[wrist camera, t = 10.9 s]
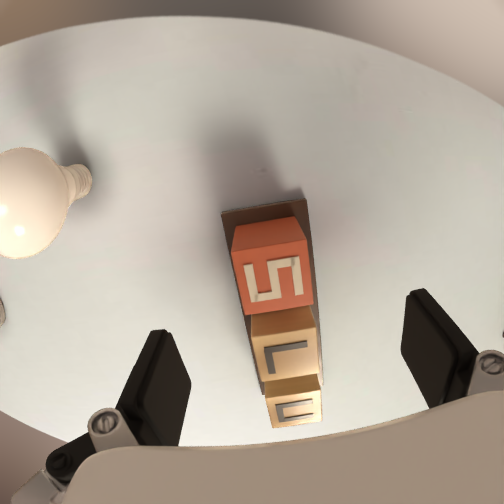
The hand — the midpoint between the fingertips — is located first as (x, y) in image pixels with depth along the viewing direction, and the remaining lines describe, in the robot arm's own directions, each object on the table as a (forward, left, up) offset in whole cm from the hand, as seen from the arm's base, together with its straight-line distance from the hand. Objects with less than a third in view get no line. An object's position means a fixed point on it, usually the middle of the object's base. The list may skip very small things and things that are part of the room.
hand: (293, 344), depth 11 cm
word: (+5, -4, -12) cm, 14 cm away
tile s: (0, -1, -12) cm, 12 cm away
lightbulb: (-14, -7, -12) cm, 20 cm away
